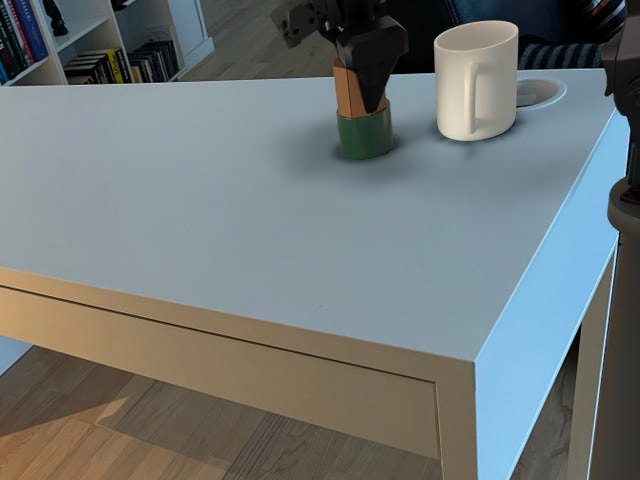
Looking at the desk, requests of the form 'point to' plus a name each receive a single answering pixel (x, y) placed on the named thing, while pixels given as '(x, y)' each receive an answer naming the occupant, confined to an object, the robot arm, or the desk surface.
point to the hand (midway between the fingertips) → (362, 99)
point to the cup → (476, 79)
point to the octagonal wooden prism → (350, 93)
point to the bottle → (366, 134)
